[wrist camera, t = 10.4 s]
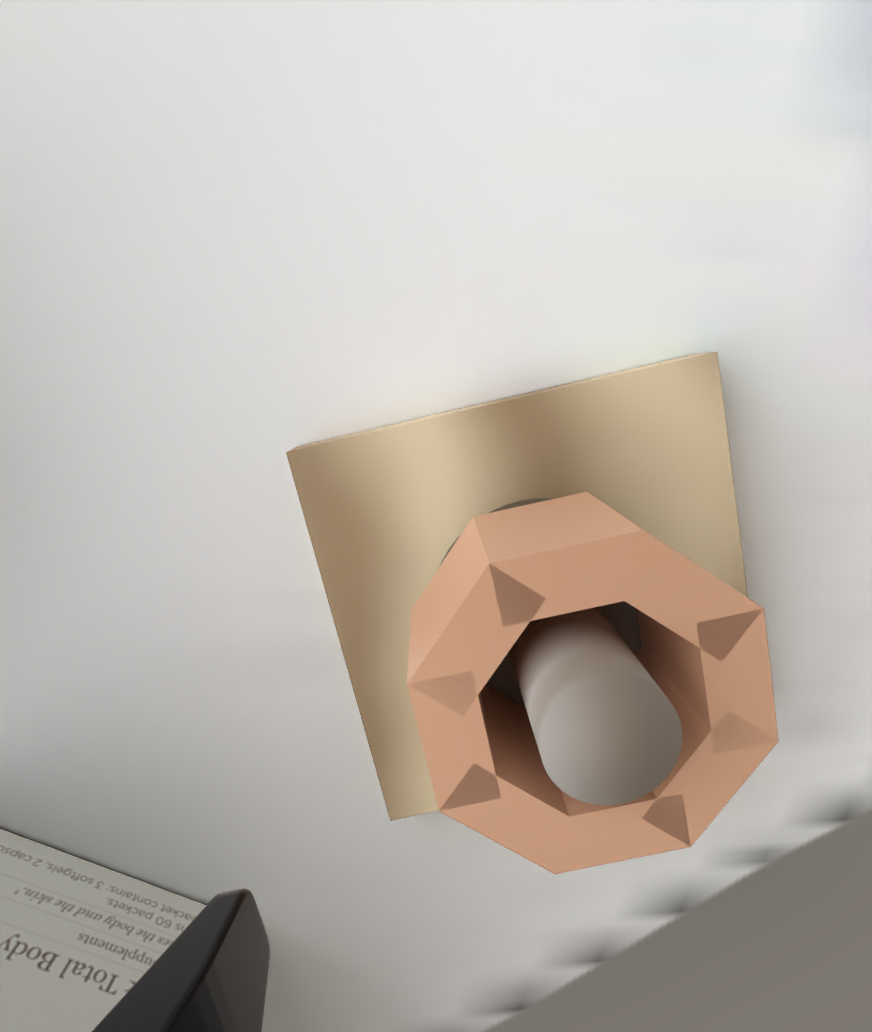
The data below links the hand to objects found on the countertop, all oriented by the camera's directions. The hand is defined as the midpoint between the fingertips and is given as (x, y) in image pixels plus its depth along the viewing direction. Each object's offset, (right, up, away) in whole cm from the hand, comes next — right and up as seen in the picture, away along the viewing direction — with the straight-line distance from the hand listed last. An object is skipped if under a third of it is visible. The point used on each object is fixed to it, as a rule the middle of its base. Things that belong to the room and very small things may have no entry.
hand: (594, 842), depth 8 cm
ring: (+1, +1, +8) cm, 8 cm away
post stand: (+1, +2, +12) cm, 12 cm away
